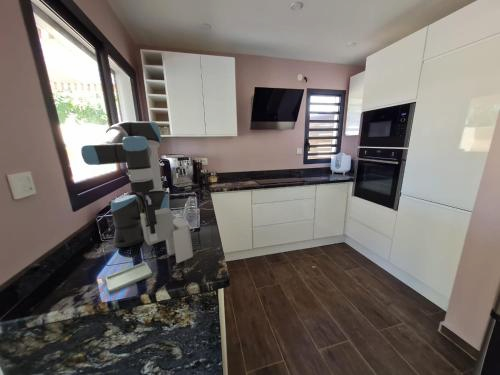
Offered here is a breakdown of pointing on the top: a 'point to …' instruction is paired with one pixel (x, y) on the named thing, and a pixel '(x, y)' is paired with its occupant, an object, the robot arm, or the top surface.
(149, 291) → the top surface
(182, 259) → the printer bay
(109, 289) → the tray
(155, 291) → the top surface
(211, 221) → the top surface
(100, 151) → the robot arm
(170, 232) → the upright pale grey block
